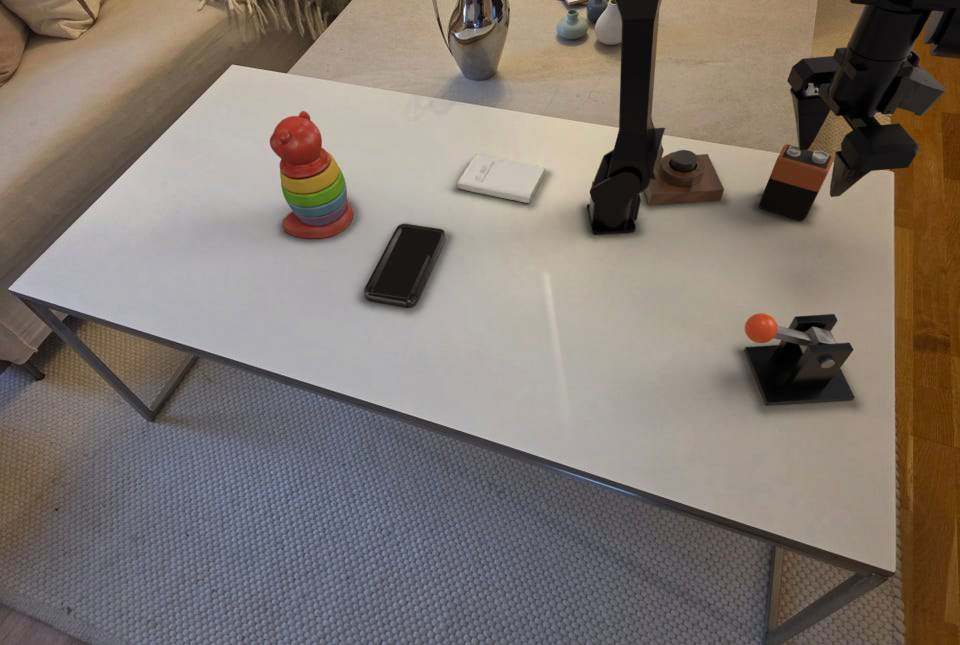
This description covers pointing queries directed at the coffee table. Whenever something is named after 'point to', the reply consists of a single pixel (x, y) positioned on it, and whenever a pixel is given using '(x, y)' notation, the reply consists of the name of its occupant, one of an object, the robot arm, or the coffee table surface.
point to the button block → (684, 183)
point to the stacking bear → (310, 180)
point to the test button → (683, 161)
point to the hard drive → (502, 178)
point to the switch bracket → (801, 367)
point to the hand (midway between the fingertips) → (818, 171)
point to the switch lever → (784, 332)
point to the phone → (405, 265)
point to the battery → (795, 181)
